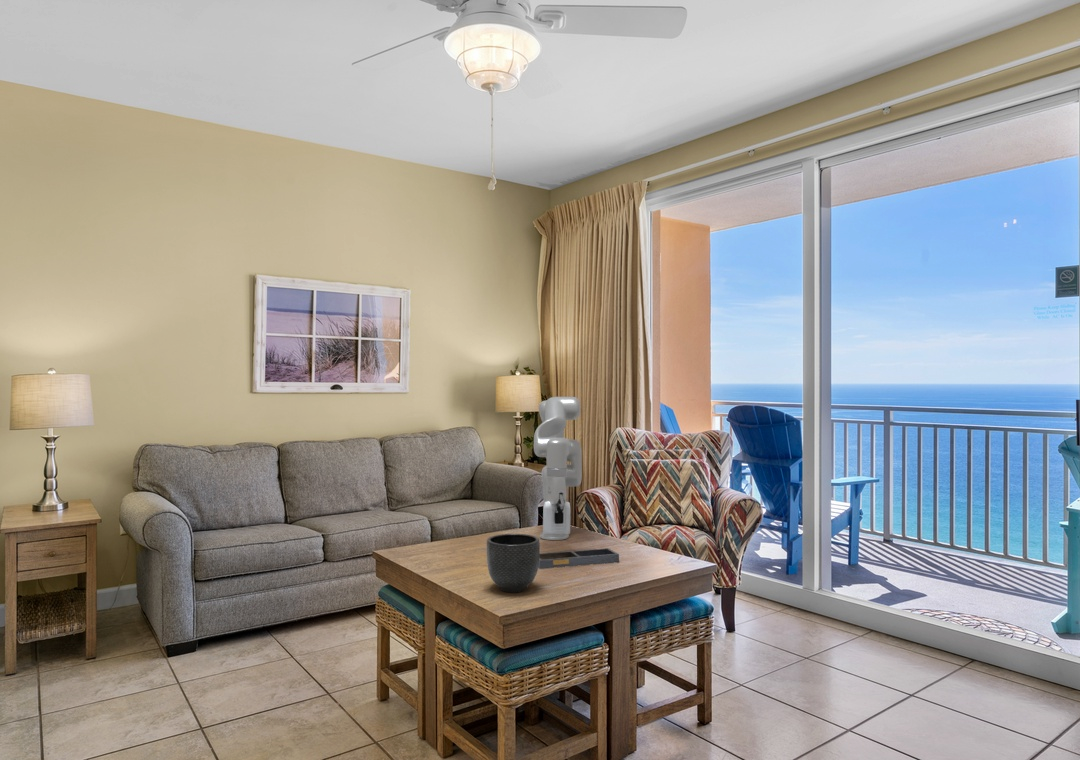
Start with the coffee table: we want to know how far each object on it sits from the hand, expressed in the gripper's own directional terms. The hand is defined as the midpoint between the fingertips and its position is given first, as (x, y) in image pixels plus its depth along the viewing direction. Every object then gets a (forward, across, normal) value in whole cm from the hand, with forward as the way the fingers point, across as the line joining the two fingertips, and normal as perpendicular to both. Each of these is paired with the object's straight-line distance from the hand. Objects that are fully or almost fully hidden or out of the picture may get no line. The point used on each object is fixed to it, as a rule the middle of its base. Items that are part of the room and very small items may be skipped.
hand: (556, 521), depth 250 cm
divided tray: (+16, 0, +8) cm, 17 cm away
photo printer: (+5, 0, 0) cm, 5 cm away
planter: (+16, +25, -23) cm, 38 cm away
